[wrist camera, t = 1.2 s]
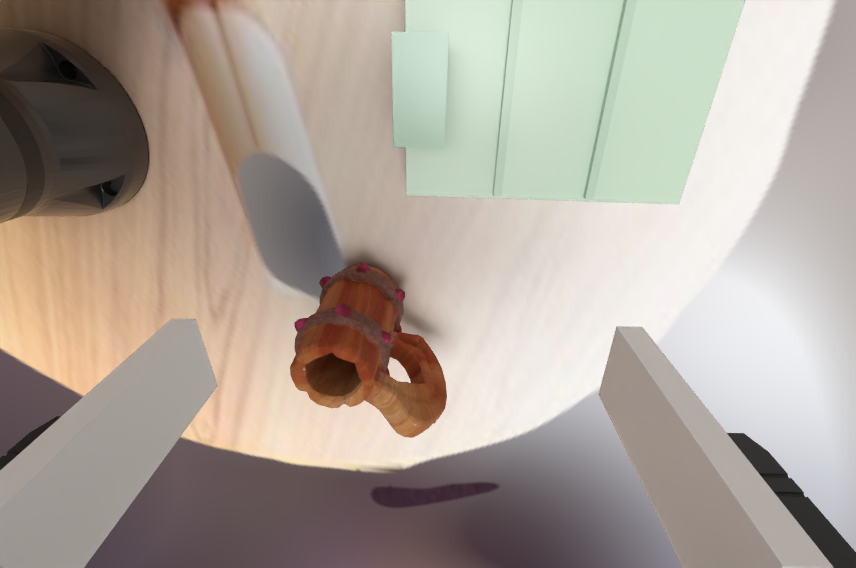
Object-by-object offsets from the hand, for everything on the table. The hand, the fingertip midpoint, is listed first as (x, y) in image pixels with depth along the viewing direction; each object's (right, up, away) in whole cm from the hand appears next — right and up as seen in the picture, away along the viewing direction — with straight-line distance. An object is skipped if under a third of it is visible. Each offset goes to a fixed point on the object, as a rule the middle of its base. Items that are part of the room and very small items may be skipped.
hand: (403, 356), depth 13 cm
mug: (-4, 0, +30) cm, 30 cm away
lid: (+10, +16, +14) cm, 23 cm away
